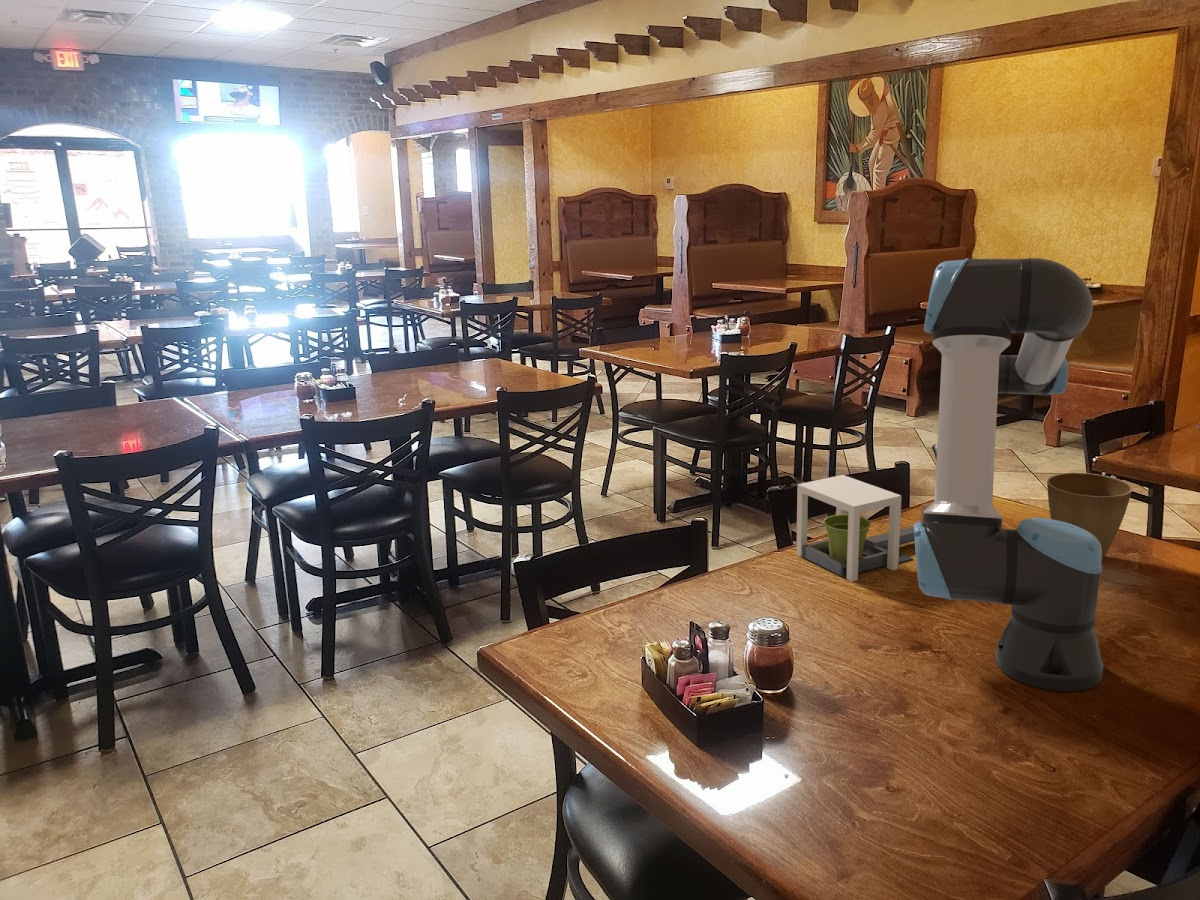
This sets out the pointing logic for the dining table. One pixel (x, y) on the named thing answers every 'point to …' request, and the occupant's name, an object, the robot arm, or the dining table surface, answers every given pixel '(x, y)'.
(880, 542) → the long-handled tray
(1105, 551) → the plant pot
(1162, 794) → the dining table surface
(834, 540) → the plant pot
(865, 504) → the white mini stool
